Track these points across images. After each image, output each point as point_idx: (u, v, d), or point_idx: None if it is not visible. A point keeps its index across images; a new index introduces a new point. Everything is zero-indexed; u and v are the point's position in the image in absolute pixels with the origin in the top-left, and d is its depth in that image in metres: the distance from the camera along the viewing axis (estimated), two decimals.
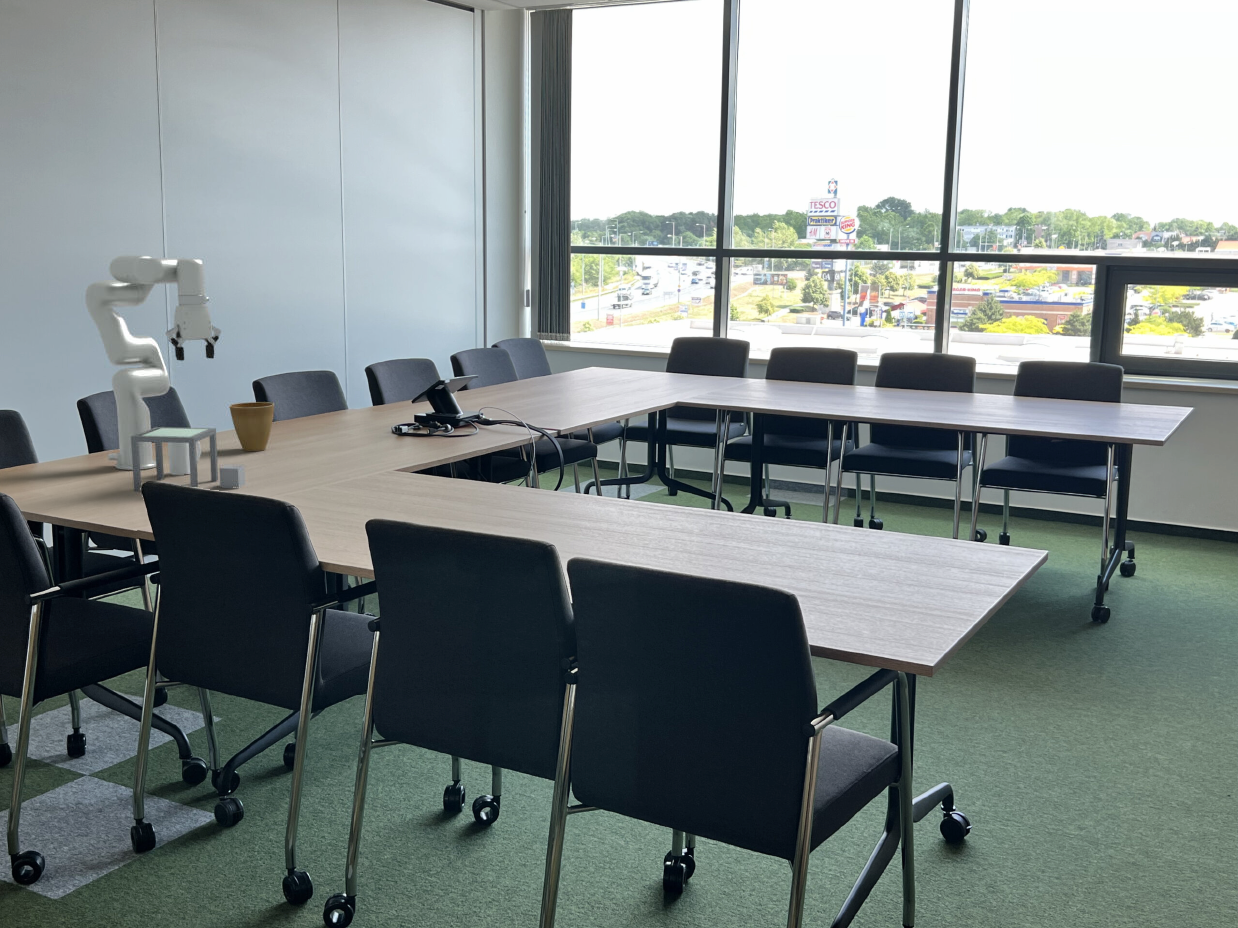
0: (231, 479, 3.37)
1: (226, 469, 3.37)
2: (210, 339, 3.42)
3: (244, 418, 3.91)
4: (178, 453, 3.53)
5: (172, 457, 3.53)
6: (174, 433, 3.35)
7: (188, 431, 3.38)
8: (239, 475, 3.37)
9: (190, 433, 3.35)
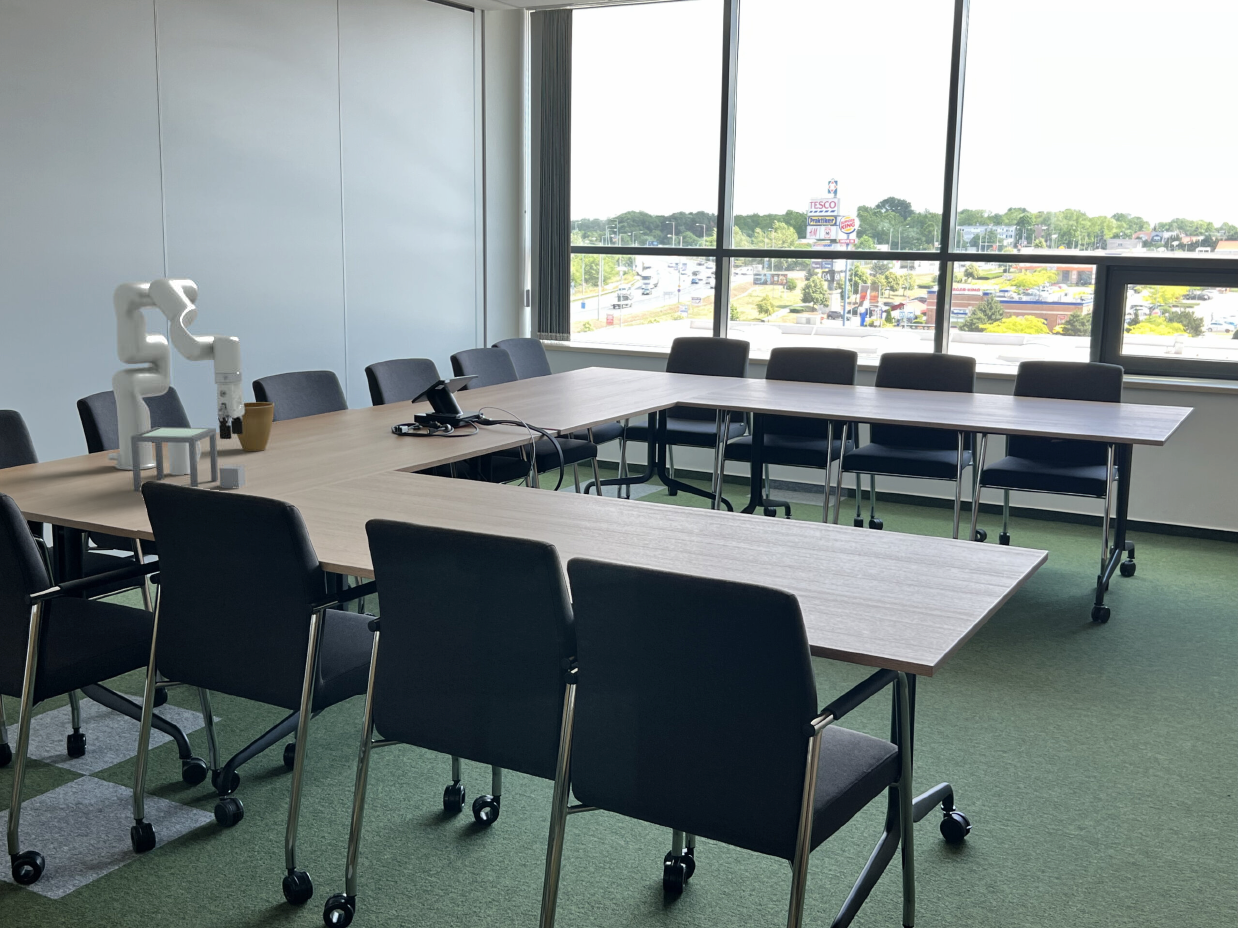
0: (231, 479, 3.37)
1: (226, 469, 3.37)
2: None
3: (244, 418, 3.91)
4: (178, 453, 3.53)
5: (172, 457, 3.53)
6: (174, 433, 3.35)
7: (188, 431, 3.38)
8: (239, 475, 3.37)
9: (190, 433, 3.35)
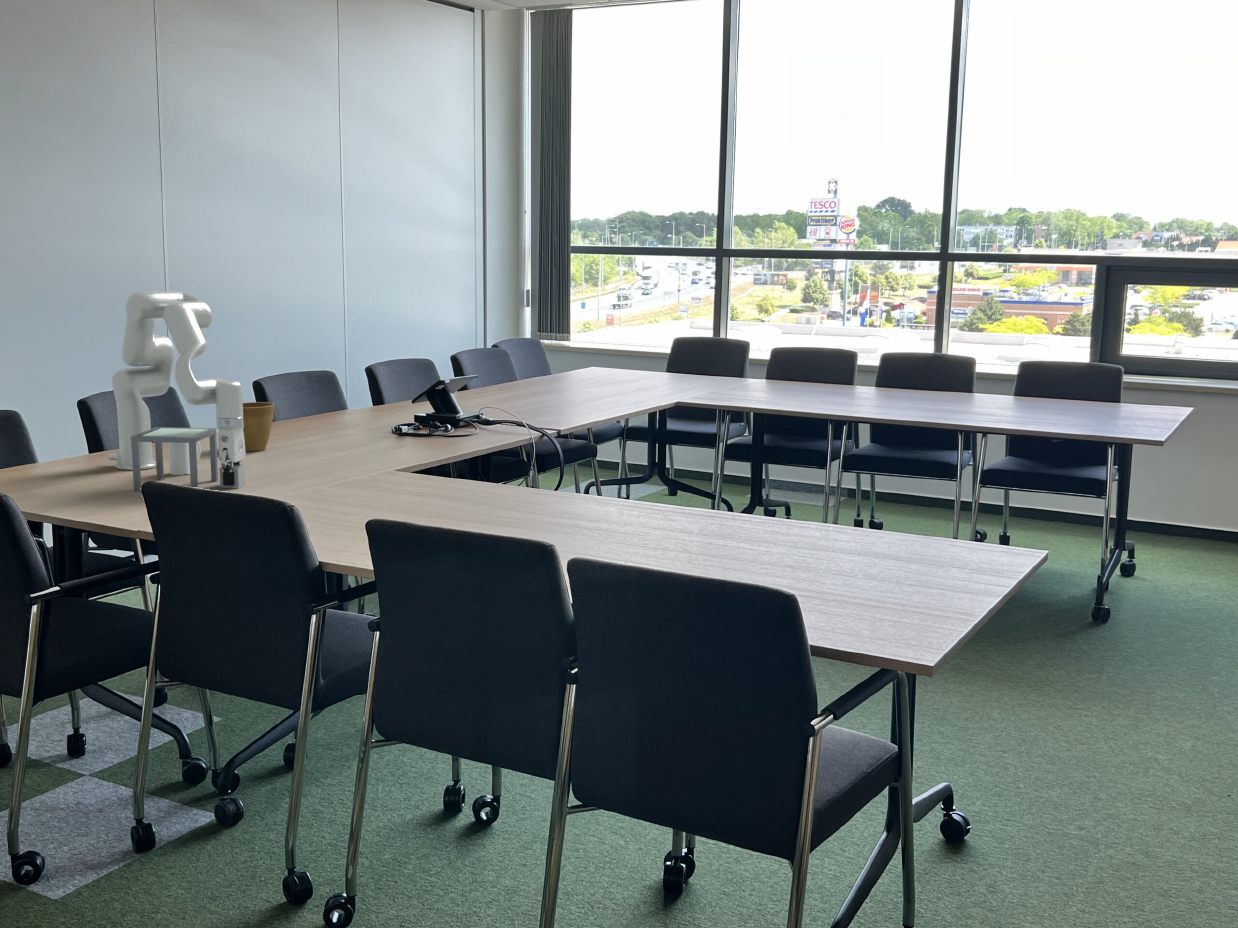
0: None
1: None
2: None
3: (244, 418, 3.91)
4: (178, 453, 3.53)
5: (172, 457, 3.53)
6: (174, 433, 3.35)
7: (188, 431, 3.38)
8: (239, 474, 3.37)
9: (190, 433, 3.35)
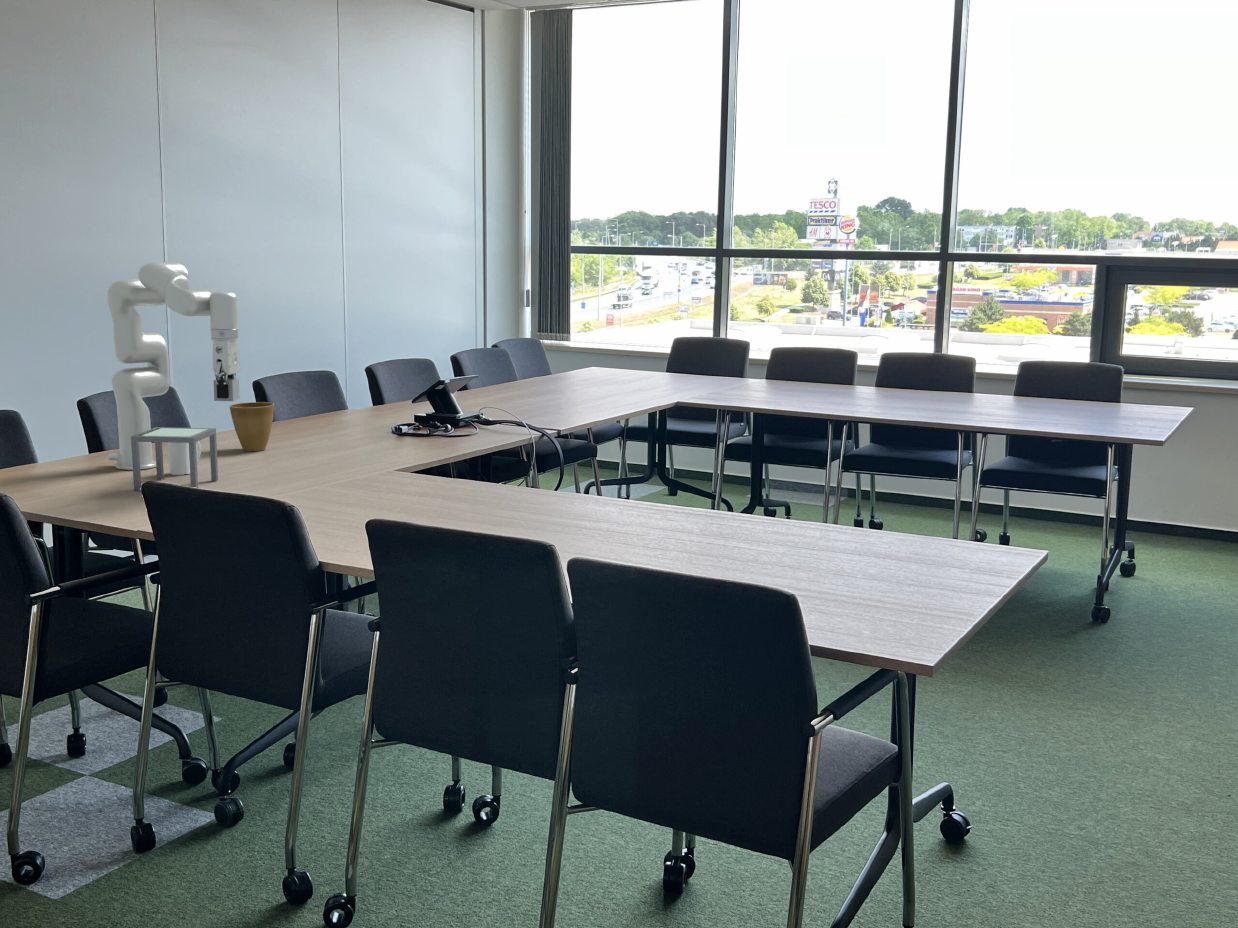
0: None
1: None
2: None
3: (244, 418, 3.91)
4: (178, 453, 3.53)
5: (172, 457, 3.53)
6: (174, 433, 3.35)
7: (188, 431, 3.38)
8: (233, 387, 3.33)
9: (190, 433, 3.35)
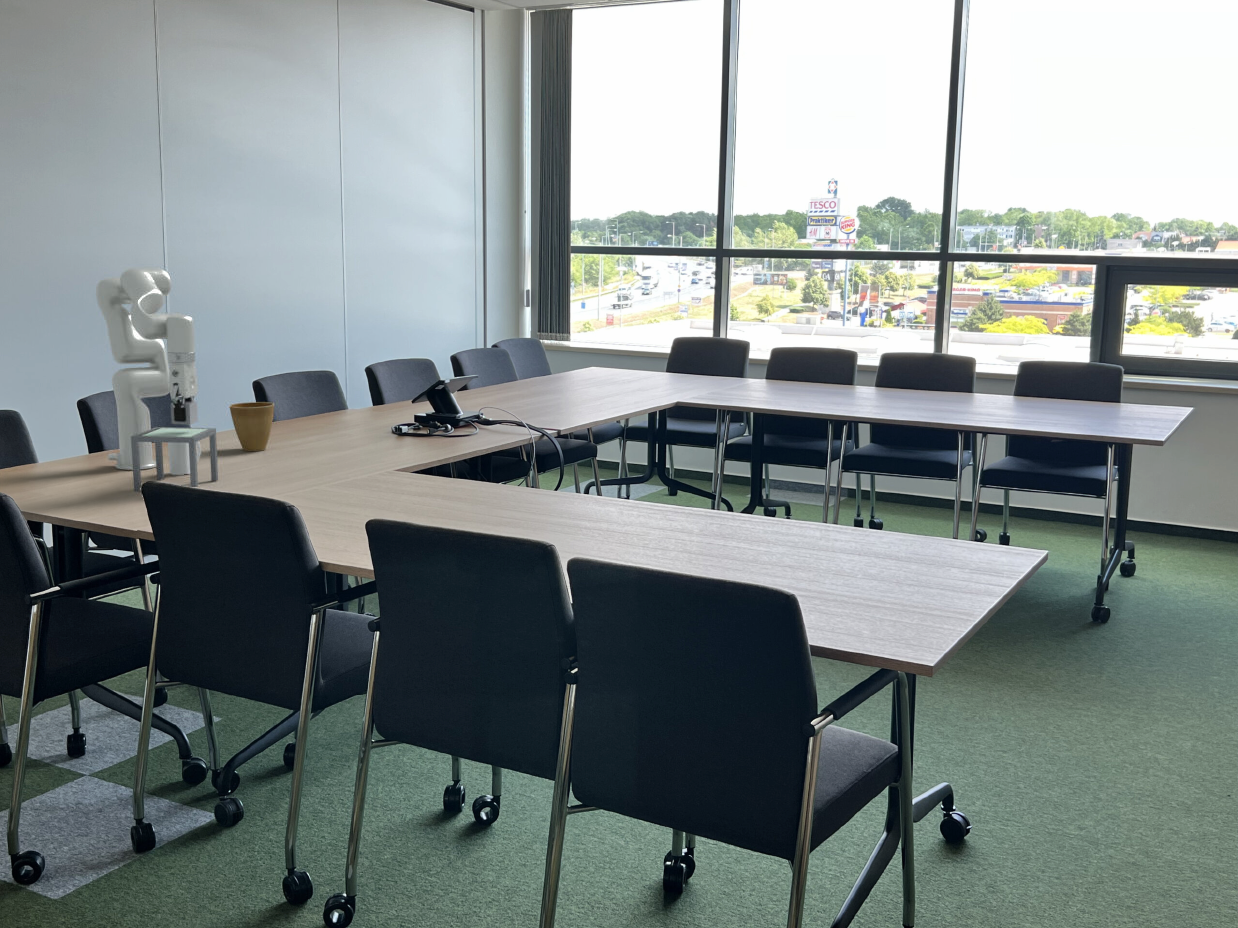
0: None
1: None
2: None
3: (244, 418, 3.91)
4: (178, 453, 3.53)
5: (172, 457, 3.53)
6: (174, 433, 3.35)
7: (188, 431, 3.38)
8: (190, 410, 3.33)
9: (190, 433, 3.35)
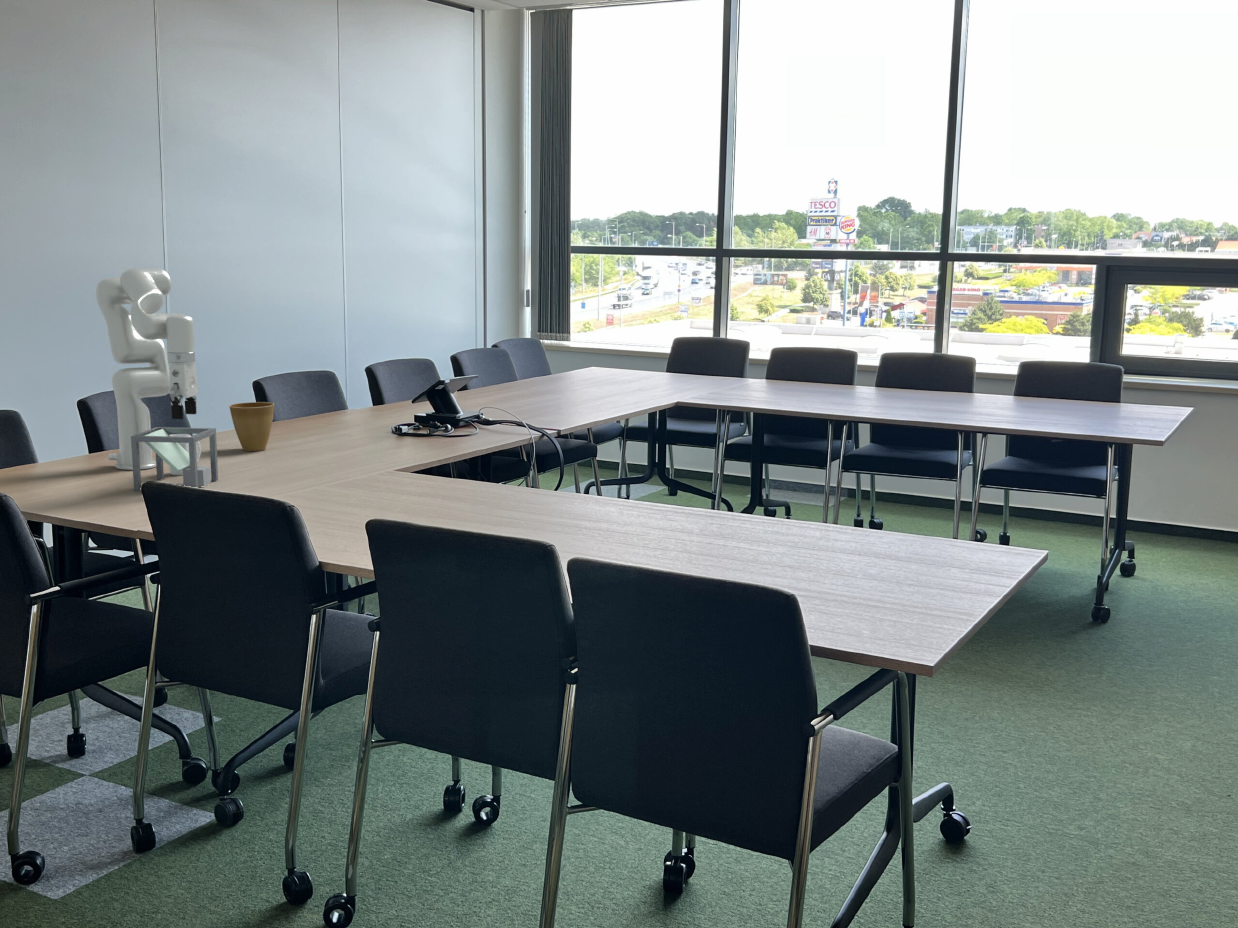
0: None
1: (202, 477, 3.36)
2: None
3: (244, 418, 3.91)
4: None
5: None
6: (169, 451, 3.36)
7: (181, 455, 3.40)
8: None
9: (181, 461, 3.37)
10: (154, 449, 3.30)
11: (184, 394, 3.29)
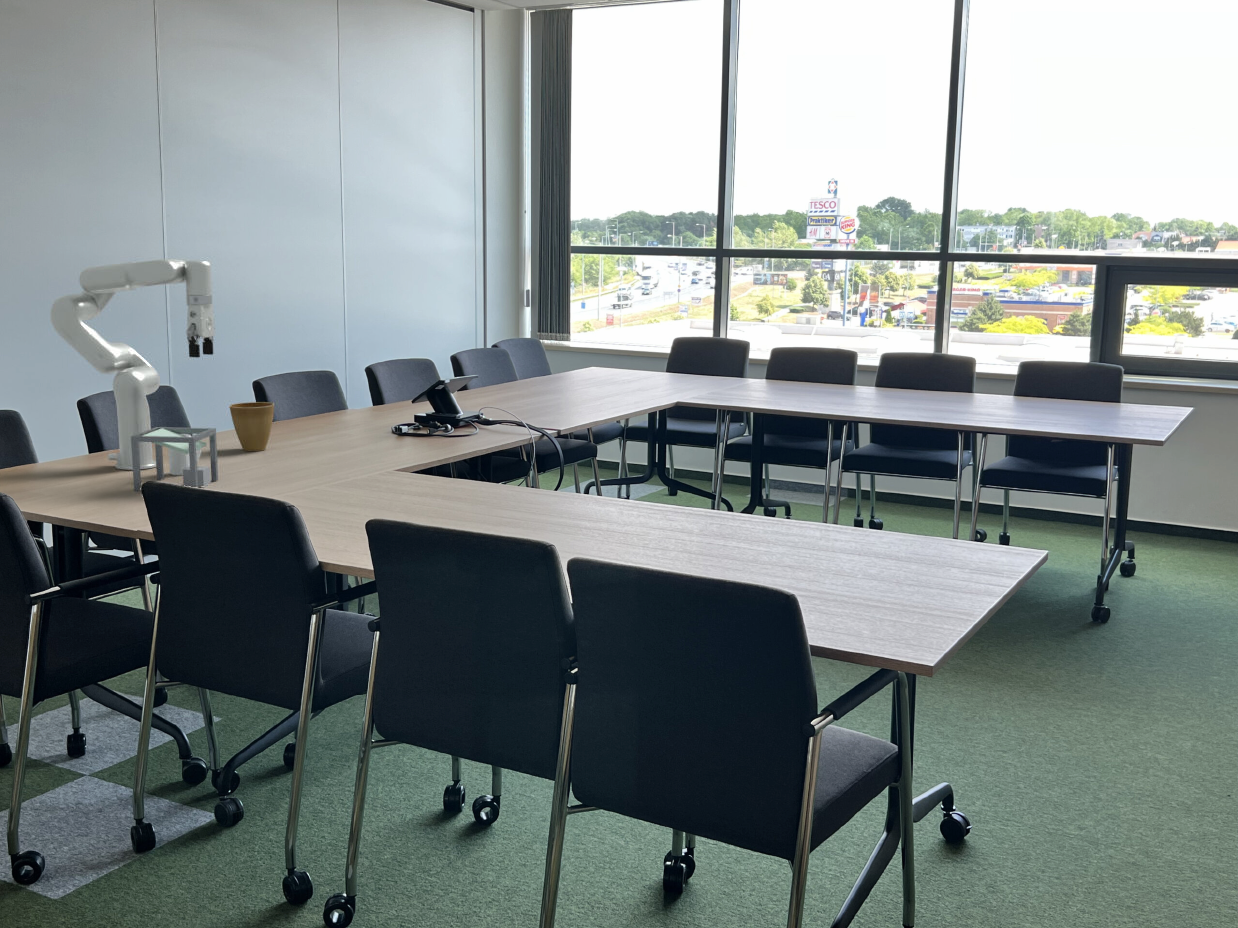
0: None
1: (202, 477, 3.36)
2: None
3: (244, 418, 3.91)
4: (178, 453, 3.53)
5: (172, 457, 3.53)
6: None
7: None
8: None
9: None
10: (158, 442, 3.30)
11: (200, 334, 3.52)
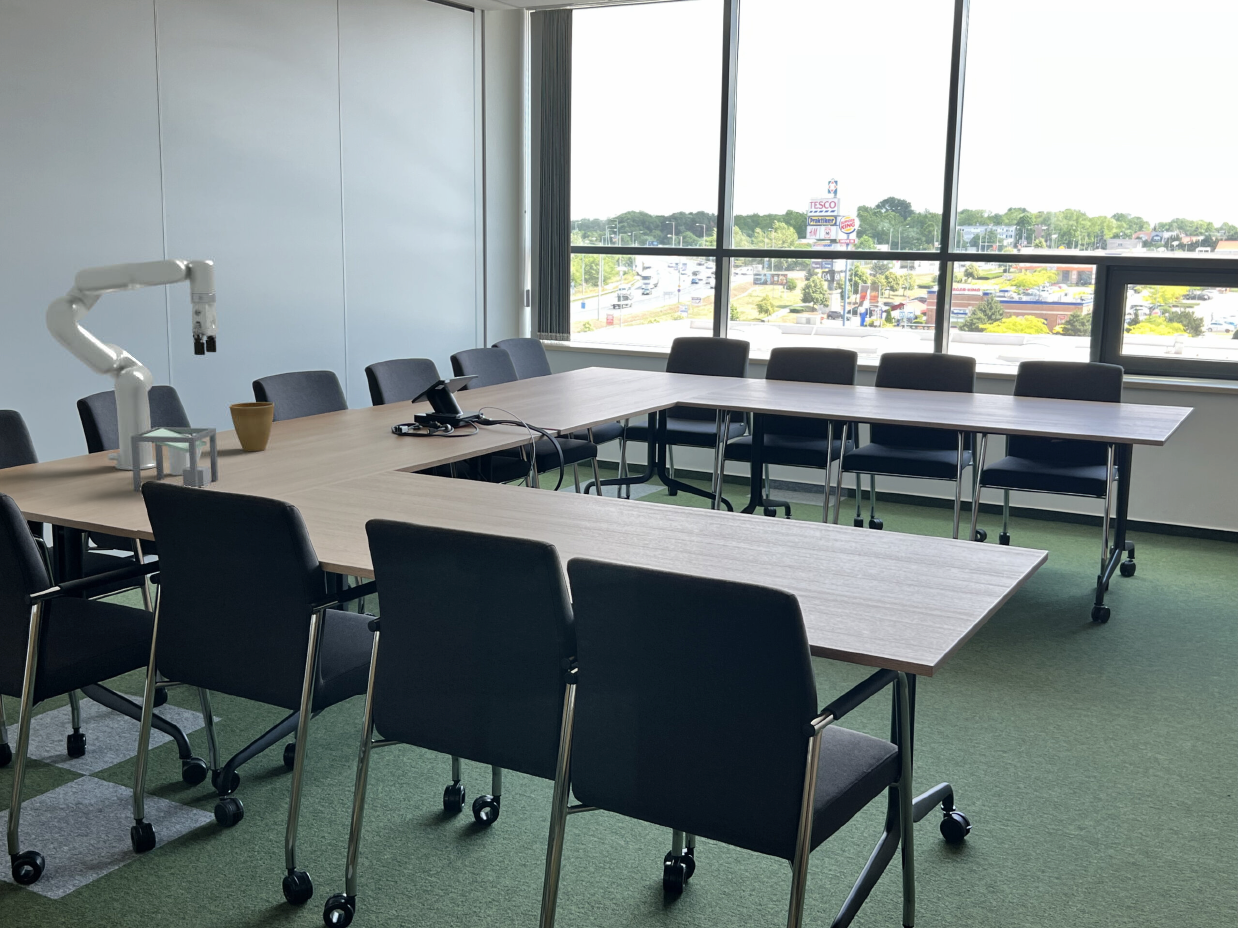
0: None
1: (202, 477, 3.36)
2: None
3: (244, 418, 3.91)
4: (178, 453, 3.53)
5: (172, 457, 3.53)
6: None
7: None
8: None
9: None
10: (158, 442, 3.30)
11: (205, 332, 3.58)
